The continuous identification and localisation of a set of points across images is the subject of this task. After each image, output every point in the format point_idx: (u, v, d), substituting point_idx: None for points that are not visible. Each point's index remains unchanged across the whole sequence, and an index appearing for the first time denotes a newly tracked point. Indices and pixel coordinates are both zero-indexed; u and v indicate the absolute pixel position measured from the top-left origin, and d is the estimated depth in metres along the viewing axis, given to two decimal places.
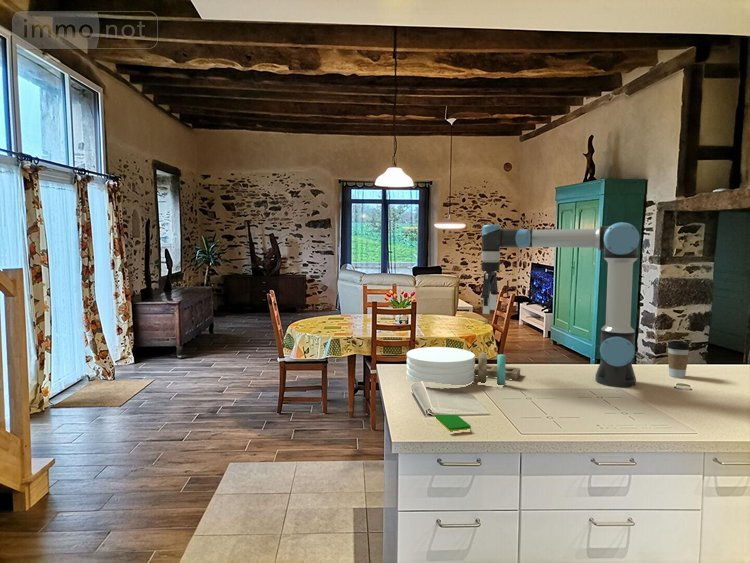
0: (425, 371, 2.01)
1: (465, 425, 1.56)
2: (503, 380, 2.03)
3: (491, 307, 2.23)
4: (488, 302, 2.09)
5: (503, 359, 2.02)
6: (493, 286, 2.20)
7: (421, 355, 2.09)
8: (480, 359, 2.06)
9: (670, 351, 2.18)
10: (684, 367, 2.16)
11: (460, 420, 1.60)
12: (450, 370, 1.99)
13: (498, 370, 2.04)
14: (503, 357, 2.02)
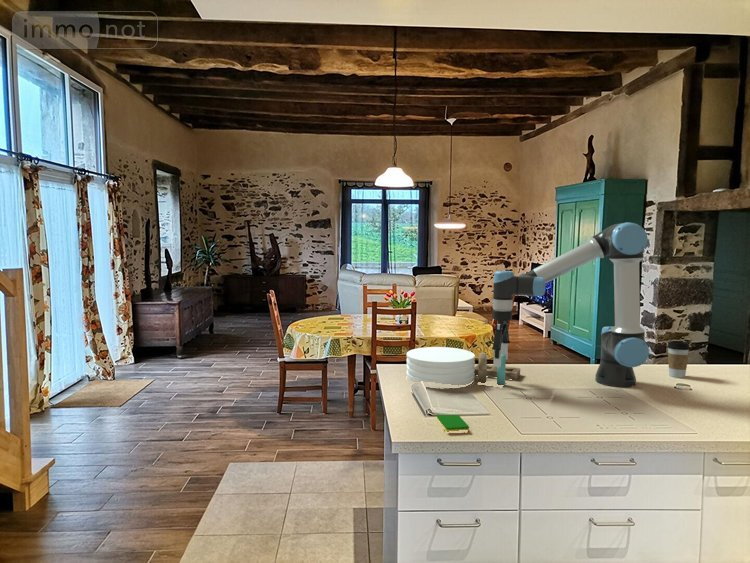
0: (425, 371, 2.01)
1: (463, 425, 1.56)
2: (503, 380, 2.03)
3: None
4: (499, 354, 1.97)
5: (503, 359, 2.02)
6: (504, 335, 2.07)
7: (421, 355, 2.09)
8: (480, 359, 2.06)
9: (670, 351, 2.18)
10: (684, 367, 2.16)
11: (460, 421, 1.60)
12: (450, 370, 1.99)
13: (498, 370, 2.04)
14: (503, 357, 2.02)
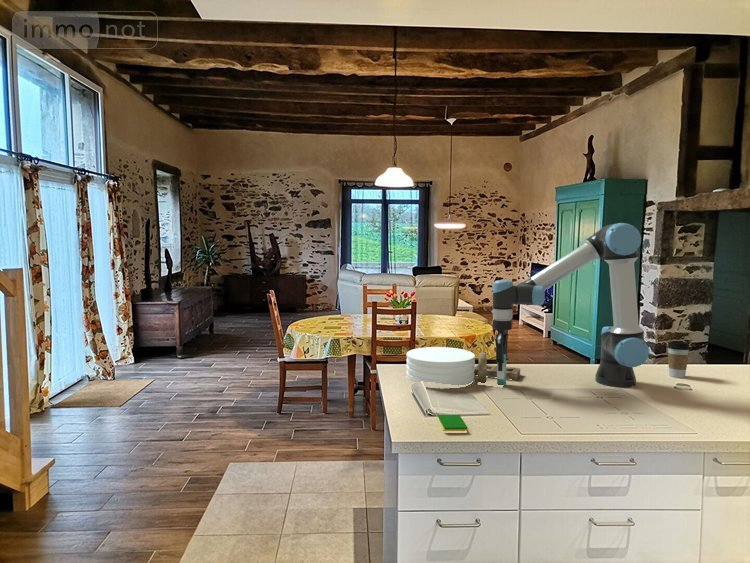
0: (425, 371, 2.01)
1: (462, 426, 1.56)
2: (503, 379, 2.03)
3: None
4: (503, 367, 2.02)
5: (504, 358, 2.02)
6: (504, 348, 2.05)
7: (421, 355, 2.09)
8: (480, 359, 2.06)
9: (670, 351, 2.18)
10: (684, 367, 2.16)
11: (459, 421, 1.60)
12: (450, 370, 1.98)
13: None
14: None
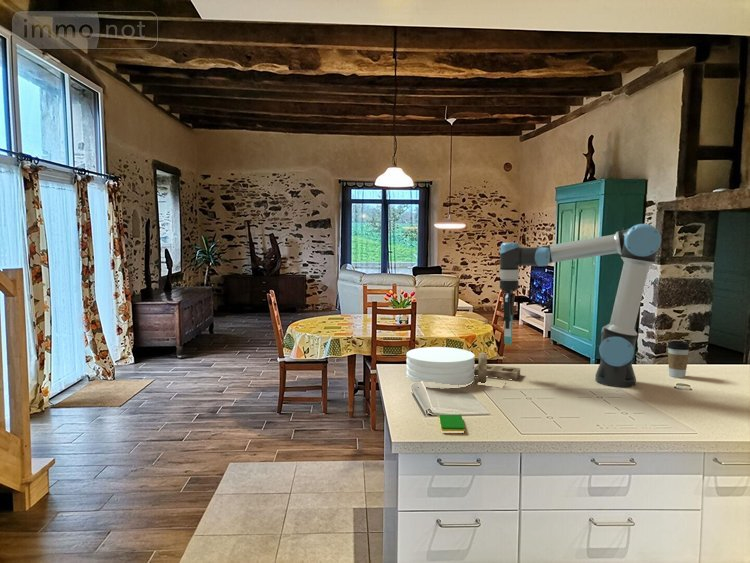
0: (425, 371, 2.01)
1: (459, 426, 1.55)
2: (510, 339, 2.14)
3: None
4: (510, 325, 2.12)
5: None
6: (510, 307, 2.15)
7: (421, 355, 2.09)
8: (480, 359, 2.06)
9: (670, 351, 2.18)
10: (684, 367, 2.16)
11: (459, 421, 1.59)
12: (450, 370, 1.98)
13: None
14: None
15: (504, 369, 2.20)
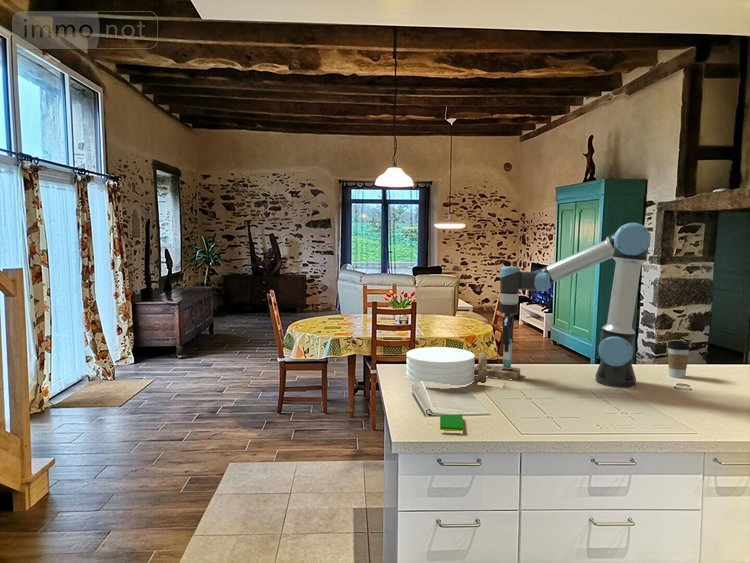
0: (425, 371, 2.01)
1: (458, 426, 1.55)
2: (509, 362, 2.15)
3: None
4: (509, 348, 2.14)
5: None
6: (510, 330, 2.17)
7: (421, 355, 2.09)
8: (480, 359, 2.06)
9: (670, 351, 2.18)
10: (684, 367, 2.16)
11: (458, 421, 1.59)
12: (450, 370, 1.98)
13: None
14: None
15: (504, 369, 2.20)
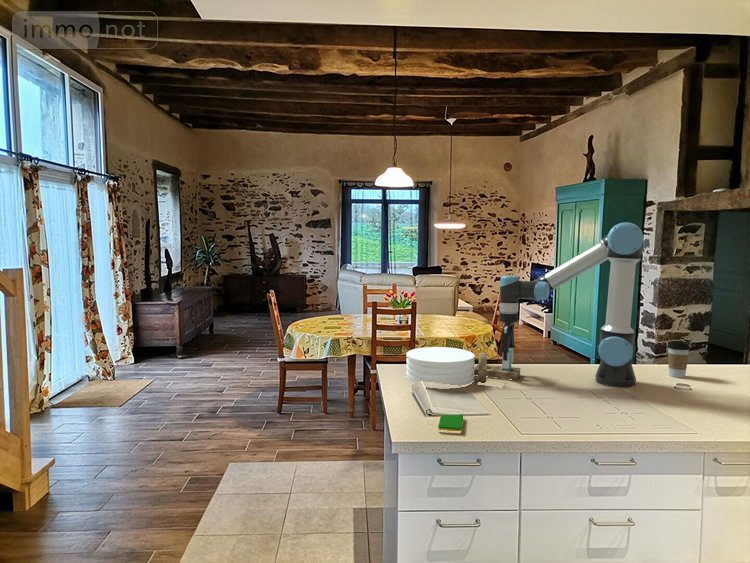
0: (425, 371, 2.01)
1: (456, 426, 1.55)
2: None
3: None
4: (507, 356, 2.11)
5: (509, 353, 2.14)
6: (510, 338, 2.18)
7: (421, 355, 2.09)
8: (480, 359, 2.06)
9: (670, 351, 2.18)
10: (684, 367, 2.16)
11: (458, 422, 1.59)
12: (450, 370, 1.98)
13: None
14: (509, 352, 2.14)
15: None
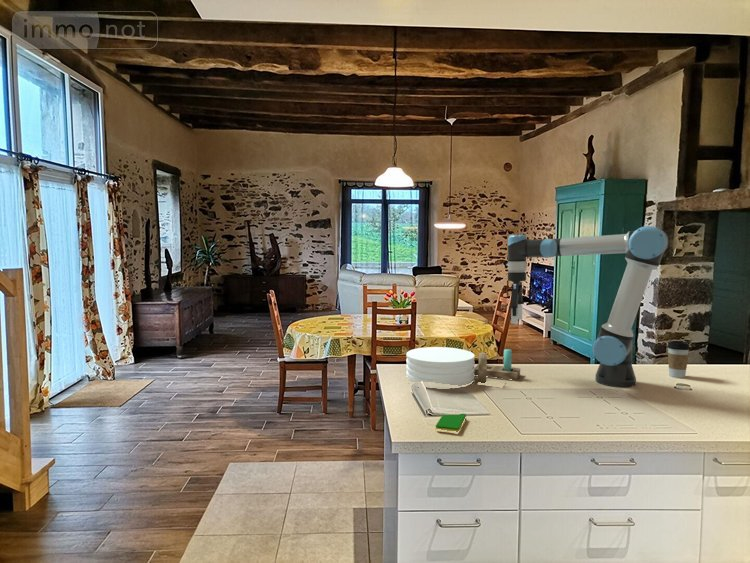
0: (425, 371, 2.01)
1: (454, 426, 1.55)
2: None
3: None
4: (517, 312, 2.11)
5: (510, 353, 2.15)
6: (519, 296, 2.21)
7: (421, 355, 2.09)
8: (480, 359, 2.06)
9: (670, 351, 2.18)
10: (684, 367, 2.16)
11: (457, 422, 1.59)
12: (450, 370, 1.98)
13: (504, 364, 2.16)
14: (509, 352, 2.15)
15: None
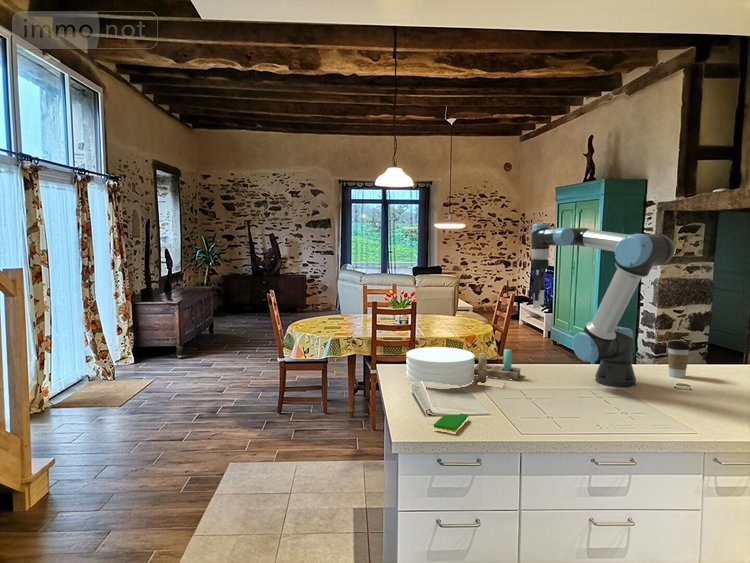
0: (425, 371, 2.01)
1: (451, 426, 1.55)
2: None
3: None
4: (539, 297, 2.21)
5: (510, 353, 2.15)
6: (541, 282, 2.32)
7: (421, 355, 2.09)
8: (480, 359, 2.06)
9: (670, 351, 2.18)
10: (684, 367, 2.16)
11: (456, 422, 1.59)
12: (450, 370, 1.98)
13: (504, 364, 2.16)
14: (509, 352, 2.15)
15: None
